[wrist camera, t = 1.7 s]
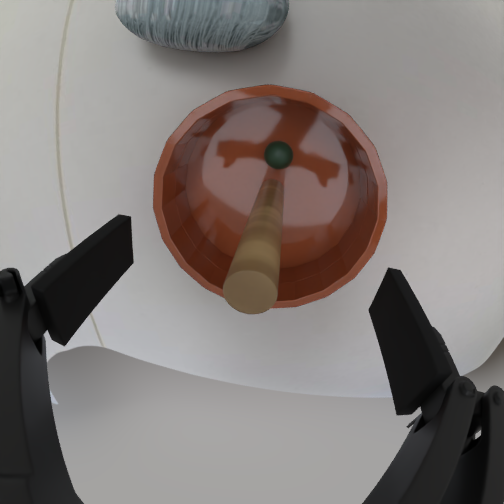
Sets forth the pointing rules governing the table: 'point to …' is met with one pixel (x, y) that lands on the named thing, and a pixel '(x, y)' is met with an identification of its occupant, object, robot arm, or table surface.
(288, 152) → the bead
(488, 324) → the table surface
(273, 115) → the bowl
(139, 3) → the blue yarn skein
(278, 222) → the stick
